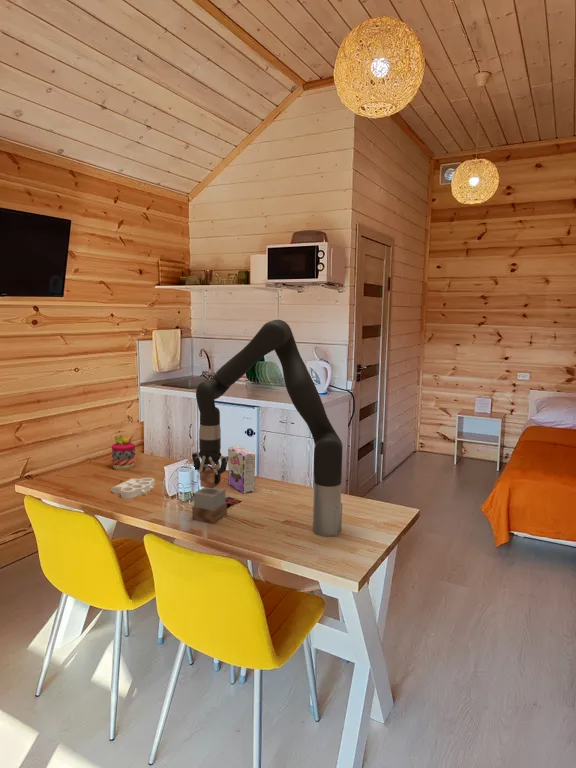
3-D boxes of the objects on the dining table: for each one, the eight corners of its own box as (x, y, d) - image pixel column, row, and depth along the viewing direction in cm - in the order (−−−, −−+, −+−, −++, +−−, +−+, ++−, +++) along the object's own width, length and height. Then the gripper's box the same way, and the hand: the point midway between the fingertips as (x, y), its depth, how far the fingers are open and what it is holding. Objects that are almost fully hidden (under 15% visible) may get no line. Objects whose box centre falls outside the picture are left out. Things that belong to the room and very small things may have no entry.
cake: (139, 464, 245) (138, 434, 243) (129, 471, 235) (128, 439, 233) (118, 463, 247) (117, 433, 245) (108, 470, 236) (106, 438, 234)
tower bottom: (227, 515, 187) (227, 502, 186) (214, 524, 179) (214, 511, 178) (205, 511, 191) (205, 498, 190) (192, 520, 182) (192, 507, 182)
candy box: (227, 484, 220) (227, 447, 218) (239, 482, 223) (239, 445, 221) (242, 494, 208) (243, 455, 206) (255, 491, 212) (255, 453, 209)
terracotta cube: (219, 484, 185) (219, 470, 184) (212, 488, 180) (212, 474, 179) (207, 482, 186) (207, 468, 186) (200, 486, 182) (200, 472, 181)
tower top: (225, 502, 186) (225, 489, 185) (213, 510, 179) (213, 496, 178) (206, 499, 189) (206, 486, 189) (194, 506, 182) (193, 493, 181)
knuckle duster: (134, 482, 222) (162, 487, 216) (105, 496, 205) (135, 501, 200) (134, 475, 221) (162, 479, 216) (105, 488, 204) (135, 493, 199)
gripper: (233, 436, 181) (232, 482, 184) (198, 432, 187) (198, 477, 189) (222, 441, 175) (222, 489, 177) (186, 436, 180) (187, 483, 182)
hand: (210, 482), depth 183 cm, fingers closed on terracotta cube, 5 cm apart
